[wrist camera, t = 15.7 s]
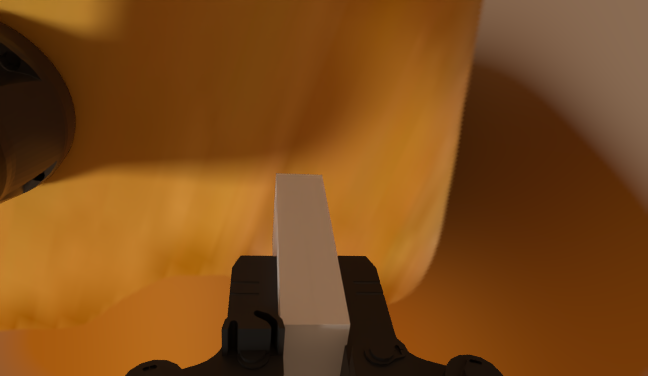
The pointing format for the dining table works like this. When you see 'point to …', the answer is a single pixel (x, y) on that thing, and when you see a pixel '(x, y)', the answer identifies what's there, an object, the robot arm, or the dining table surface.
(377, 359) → the robot arm
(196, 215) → the dining table surface
